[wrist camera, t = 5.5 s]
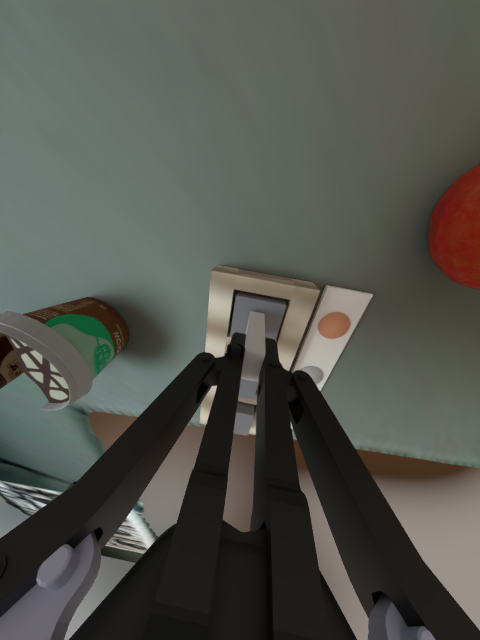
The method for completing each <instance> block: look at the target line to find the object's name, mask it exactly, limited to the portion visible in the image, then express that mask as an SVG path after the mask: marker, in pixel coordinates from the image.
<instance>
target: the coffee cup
mask: <svg viewBox="0 0 480 640" xmlns="http://www.w3.org/2000/svg"><path fill="white" fill-rule="evenodd" d="M22 373H24V371H23V370H22V368H21V366H20V363H19V361H18V358H17V355H16V353H15V350H14V348H13V346H12V345H11V343H10V341H9V340H8V338H7V337H6V336H5V335H4V333H2V332H0V389H1V388H2V387H4V386H5V385H6V384H8V383H9V382H11V381H12V380H14V379H15V378H17V377H18V376H20V375H21V374H22Z"/></svg>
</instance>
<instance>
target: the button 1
mask: <svg viewBox="0 0 480 640" xmlns="http://www.w3.org/2000/svg"><path fill="white" fill-rule="evenodd" d="M254 406H255V405H254V404H249V403H244V402H240V401H238V403H237V411H236V418H235V425H234V432H233V433H236V434H241V435H246V436H248V433H249V430H250V427H251V424H252V421H253V417H254Z"/></svg>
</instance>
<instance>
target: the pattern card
mask: <svg viewBox="0 0 480 640" xmlns="http://www.w3.org/2000/svg"><path fill="white" fill-rule="evenodd" d="M372 296H373V294H371V293H367V292H362V291H356V290H351V289H346V288H340V287H335V286H329V285H326V286H325V288H324V291H323V293H322V296H321V298H320V301H319V303H318V306H317V308H316V311H315V313H314V316H313V318H312V321H311V323H310V326H309V328H308V331H307V333H306V336H305V338H304V341H303V343H302V346H301V348H300V351H299V353H298V356H297V358H296V361H295V363H294V366H293V368H292V371H291V372H292V373H293V372H294V371H296V370H302V371H304V372H306V373H308V374H309V375H310V376H311V377H312V379H313V381H314V382H315V384H316V386H317V387H318V389H319V391H321V389H322V387H323V385H324V384H325V382H326V380H327V378H328V376H329V375H330V373H331V371H332V369H333V367H334V365H335V364H336V362H337V360H338V358H339V356H340V354H341V353H342V351H343V349H344V347H345V345H346V344H347V342H348V340H349V338H350V336H351V334H352V333H353V331H354V329H355V327H356V325H357V323H358V322H359V320H360V318H361V316H362V314H363V313H364V311H365V309H366V307H367V305H368V303H369V302H370V300H371V298H372ZM291 429H293V427H292V424H291Z"/></svg>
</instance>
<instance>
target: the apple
mask: <svg viewBox="0 0 480 640" xmlns="http://www.w3.org/2000/svg"><path fill="white" fill-rule="evenodd" d="M428 240H429V248H430V255H431V257H432V259H433V260H434V262H435V263H436V265H437V266H438V267H439V268H440V269H441V270H442V271H443V272H444V273H445V274H446V275H447V276H448V277H449V278H450V279H451V280H452V281H454V282H457V283H459V284H462V285H465V286H468V287H471V288H475V289H479V290H480V164H478V165H477V166H475V167H474V168H472V169H471V170H469V171H468V172H466V173H465V174H463V175H462V176H460V177H459V178H458V179H457V180H456V181H455V182H454V183H453V185H452V186H451V187H450V188H449V189H448V190H447V191H446V192H445V194H444V195H443V196H442V197H441V199H440V200H439V201H438V203H437V204H436V206H435V208H434V210H433V212H432V215H431V217H430V224H429V236H428Z"/></svg>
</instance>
